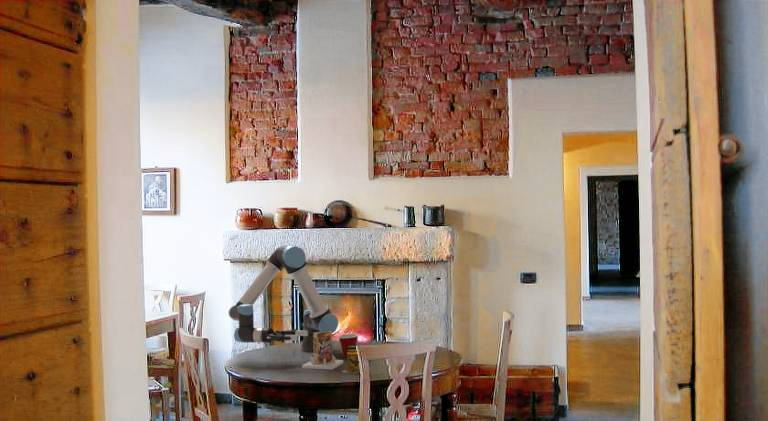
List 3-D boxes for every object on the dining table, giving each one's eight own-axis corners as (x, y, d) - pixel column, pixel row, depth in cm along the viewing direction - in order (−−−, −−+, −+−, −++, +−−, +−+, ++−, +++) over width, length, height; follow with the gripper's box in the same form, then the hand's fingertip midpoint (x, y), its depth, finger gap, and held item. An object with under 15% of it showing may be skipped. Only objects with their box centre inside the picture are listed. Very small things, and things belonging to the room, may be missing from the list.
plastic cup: (336, 356, 345) (336, 334, 346) (356, 355, 348) (355, 332, 349) (340, 360, 335) (340, 337, 335) (360, 358, 338) (360, 335, 338)
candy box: (317, 364, 317) (316, 333, 318) (312, 363, 321) (312, 332, 321) (332, 362, 323) (332, 331, 323) (328, 360, 326) (327, 330, 327)
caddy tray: (313, 362, 332) (313, 353, 332) (343, 363, 327) (343, 354, 327) (301, 368, 316) (301, 359, 316) (332, 369, 312) (332, 360, 312)
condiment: (355, 373, 302) (355, 348, 302) (340, 372, 306) (340, 346, 306) (363, 370, 308) (363, 345, 309) (348, 369, 312) (348, 344, 313)
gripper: (274, 338, 342) (311, 338, 337) (253, 347, 318) (292, 347, 313) (273, 324, 343) (311, 324, 337) (252, 331, 318) (292, 332, 313)
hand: (302, 335), depth 325 cm, fingers open, 13 cm apart
